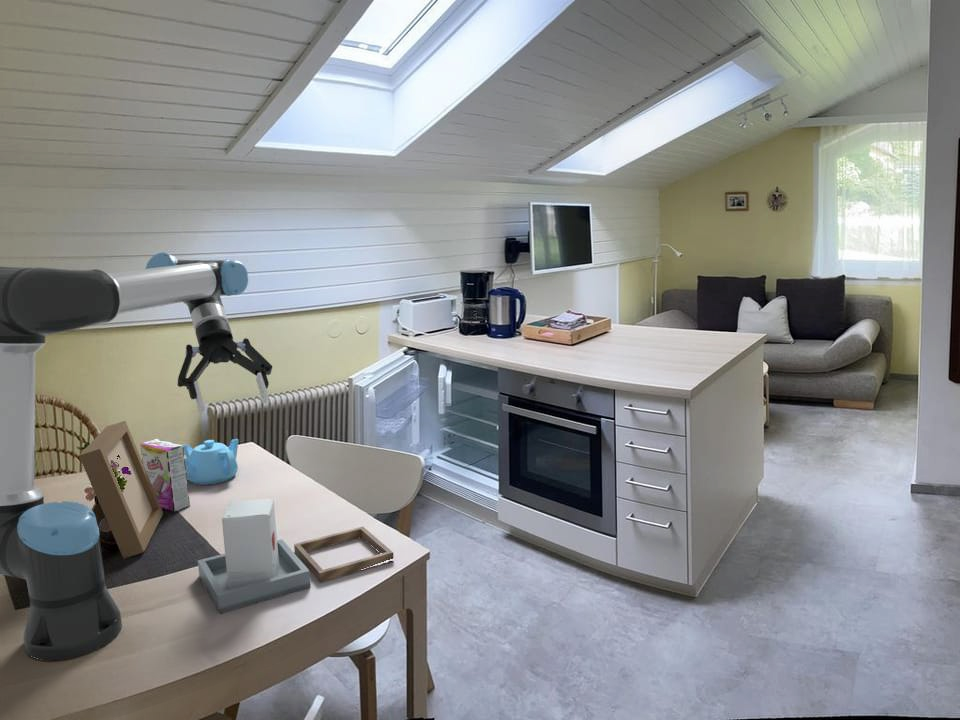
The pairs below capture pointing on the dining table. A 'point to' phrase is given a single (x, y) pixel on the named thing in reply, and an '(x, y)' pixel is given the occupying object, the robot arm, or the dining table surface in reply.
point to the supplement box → (250, 542)
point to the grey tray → (287, 581)
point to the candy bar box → (166, 473)
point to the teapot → (211, 462)
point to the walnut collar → (342, 569)
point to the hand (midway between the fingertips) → (234, 405)
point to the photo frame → (124, 511)
